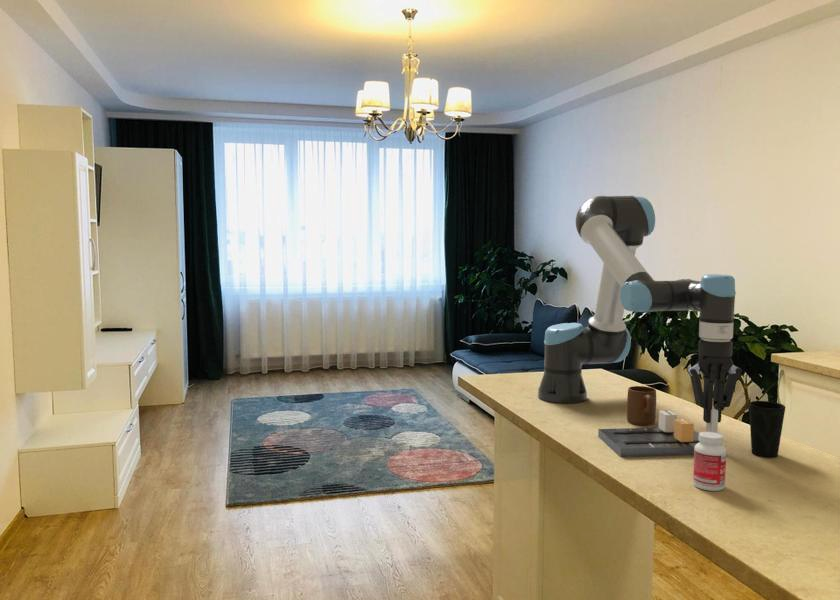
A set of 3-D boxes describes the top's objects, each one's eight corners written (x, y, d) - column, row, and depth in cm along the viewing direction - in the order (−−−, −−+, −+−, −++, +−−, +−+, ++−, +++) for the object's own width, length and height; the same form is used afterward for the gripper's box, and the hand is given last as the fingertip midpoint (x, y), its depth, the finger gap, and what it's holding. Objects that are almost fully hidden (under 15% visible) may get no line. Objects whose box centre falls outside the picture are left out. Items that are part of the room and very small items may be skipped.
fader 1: (658, 427, 177) (659, 410, 176) (669, 427, 177) (670, 410, 176) (665, 432, 173) (665, 414, 172) (676, 432, 173) (677, 414, 172)
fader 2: (673, 437, 169) (674, 419, 168) (685, 436, 169) (686, 418, 168) (681, 442, 165) (681, 423, 164) (693, 441, 165) (693, 423, 165)
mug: (664, 430, 183) (666, 396, 182) (636, 430, 183) (637, 396, 182) (650, 418, 195) (651, 385, 194) (623, 418, 195) (624, 385, 194)
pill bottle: (725, 493, 140) (727, 440, 138) (692, 489, 142) (695, 437, 141) (724, 483, 145) (726, 432, 144) (692, 479, 148) (694, 429, 146)
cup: (739, 451, 166) (741, 402, 165) (762, 447, 169) (764, 399, 168) (766, 461, 159) (769, 410, 158) (790, 456, 162) (793, 407, 161)
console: (598, 436, 178) (598, 427, 178) (688, 434, 180) (688, 426, 179) (620, 456, 162) (620, 447, 162) (719, 454, 164) (719, 445, 163)
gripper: (696, 342, 161) (692, 440, 163) (750, 341, 162) (745, 439, 164) (682, 337, 168) (678, 431, 171) (733, 336, 169) (729, 430, 171)
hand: (711, 435), depth 167 cm, fingers closed
